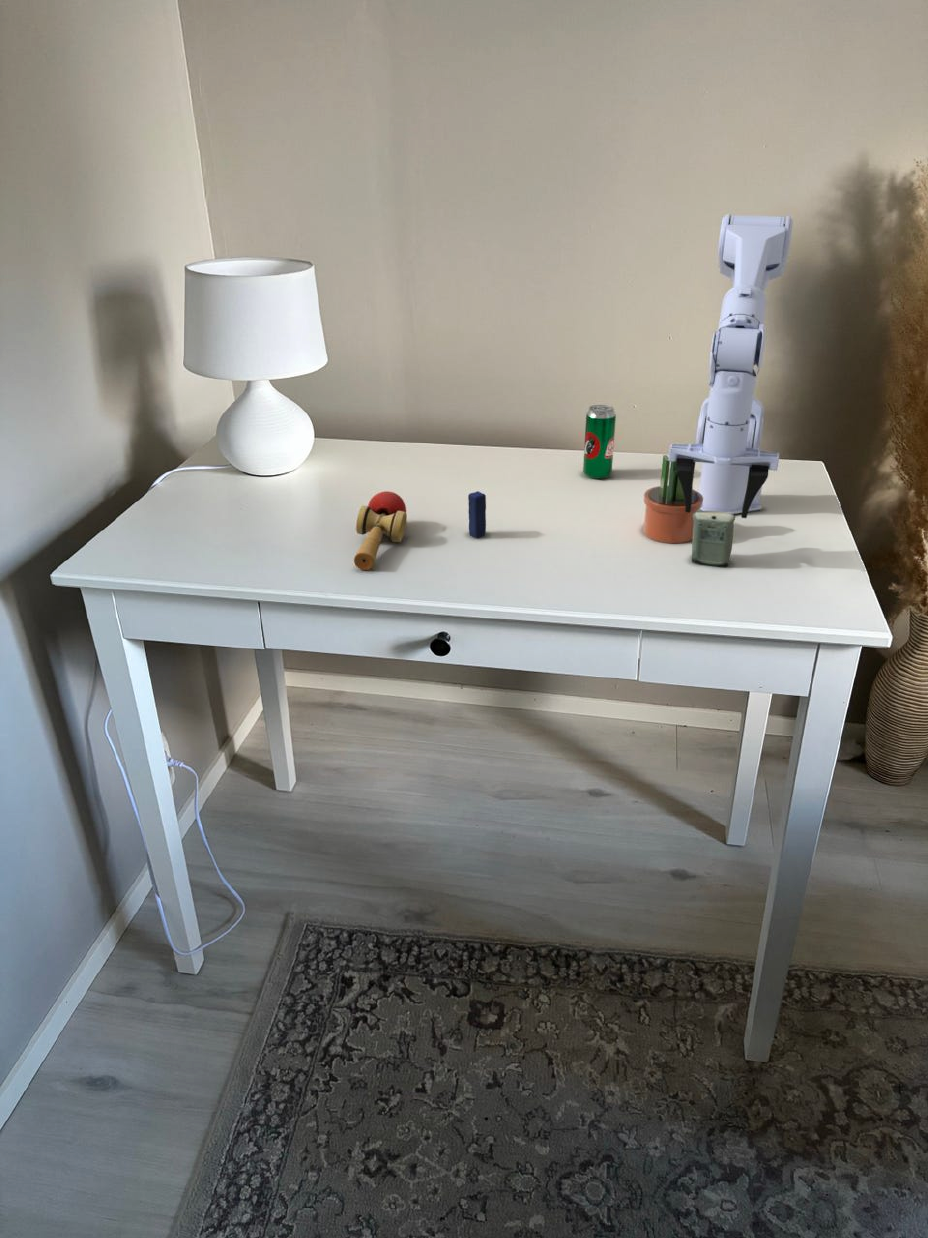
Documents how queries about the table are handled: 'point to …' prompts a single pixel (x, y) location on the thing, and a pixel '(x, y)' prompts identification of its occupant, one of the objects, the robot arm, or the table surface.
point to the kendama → (379, 525)
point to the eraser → (477, 514)
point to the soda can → (599, 441)
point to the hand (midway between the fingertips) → (715, 512)
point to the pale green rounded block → (712, 538)
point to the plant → (669, 509)
